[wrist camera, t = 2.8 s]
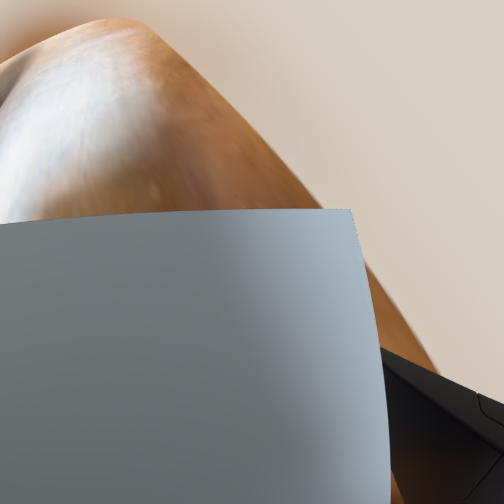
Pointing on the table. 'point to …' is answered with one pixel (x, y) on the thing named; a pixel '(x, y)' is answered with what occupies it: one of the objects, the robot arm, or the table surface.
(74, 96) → the table surface
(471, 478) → the robot arm
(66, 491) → the block
